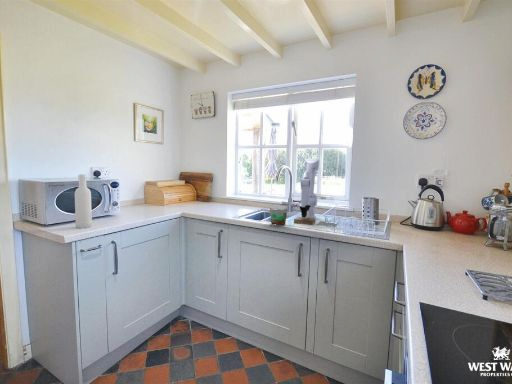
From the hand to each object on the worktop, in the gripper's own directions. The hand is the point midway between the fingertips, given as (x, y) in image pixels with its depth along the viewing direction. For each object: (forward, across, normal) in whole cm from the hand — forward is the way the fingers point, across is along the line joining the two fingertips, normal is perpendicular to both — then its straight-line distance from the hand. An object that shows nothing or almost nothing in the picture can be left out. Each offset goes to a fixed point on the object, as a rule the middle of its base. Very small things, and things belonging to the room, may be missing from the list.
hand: (304, 216), depth 176 cm
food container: (+4, +16, -15) cm, 22 cm away
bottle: (+4, +73, -113) cm, 135 cm away
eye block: (+4, 0, 0) cm, 4 cm away
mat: (+4, -2, +15) cm, 16 cm away
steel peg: (+4, 0, 0) cm, 4 cm away
